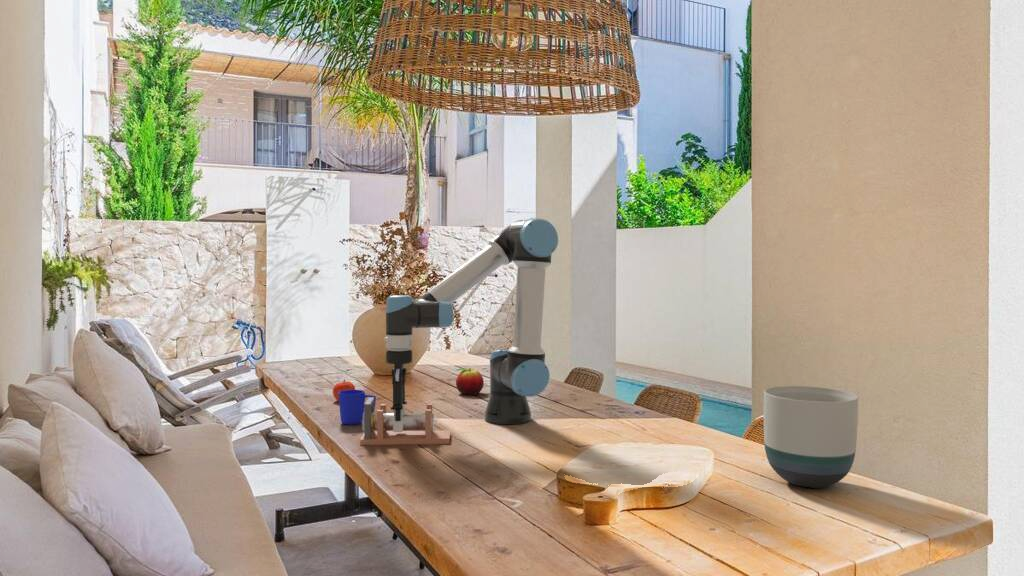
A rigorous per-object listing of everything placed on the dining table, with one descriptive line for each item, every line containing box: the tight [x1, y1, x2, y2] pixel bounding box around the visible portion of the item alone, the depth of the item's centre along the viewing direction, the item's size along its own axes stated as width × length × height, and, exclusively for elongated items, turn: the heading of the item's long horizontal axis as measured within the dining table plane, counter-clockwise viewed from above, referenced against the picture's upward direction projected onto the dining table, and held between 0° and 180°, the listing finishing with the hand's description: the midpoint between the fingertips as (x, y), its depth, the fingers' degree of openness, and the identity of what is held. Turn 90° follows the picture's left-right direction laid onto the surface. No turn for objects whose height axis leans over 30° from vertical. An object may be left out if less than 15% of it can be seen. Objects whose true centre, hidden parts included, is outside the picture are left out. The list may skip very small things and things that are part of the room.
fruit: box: [455, 367, 485, 396], centre depth 284 cm, size 11×11×10 cm
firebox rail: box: [359, 397, 451, 446], centre depth 212 cm, size 25×10×12 cm, turn 94°
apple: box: [332, 379, 356, 402], centre depth 269 cm, size 8×8×8 cm
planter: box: [763, 385, 859, 489], centre depth 172 cm, size 20×20×21 cm
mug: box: [338, 389, 377, 426], centre depth 233 cm, size 8×12×10 cm
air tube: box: [361, 412, 435, 431], centre depth 212 cm, size 20×5×5 cm, turn 94°
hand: (399, 429), depth 212 cm, fingers closed on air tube, 5 cm apart
